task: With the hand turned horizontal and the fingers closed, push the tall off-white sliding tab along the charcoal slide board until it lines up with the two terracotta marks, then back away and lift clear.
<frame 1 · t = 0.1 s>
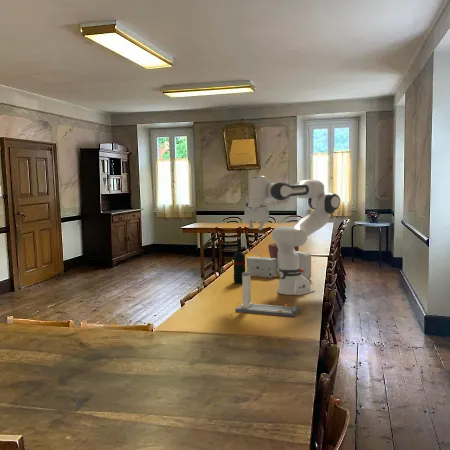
hand: (255, 229, 255), 39 cm above the table, tool pointing down, fingers open, 8 cm apart
stereo radio cassette player: (261, 276, 319), on the table
fader tab: (246, 289, 232), point 10 cm above the table, slide at 0.0 cm
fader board: (267, 311, 229), on the table
wine bottle: (240, 282, 299), on the table
rounded white slab: (293, 277, 314), on the table
bucket: (283, 269, 346), on the table
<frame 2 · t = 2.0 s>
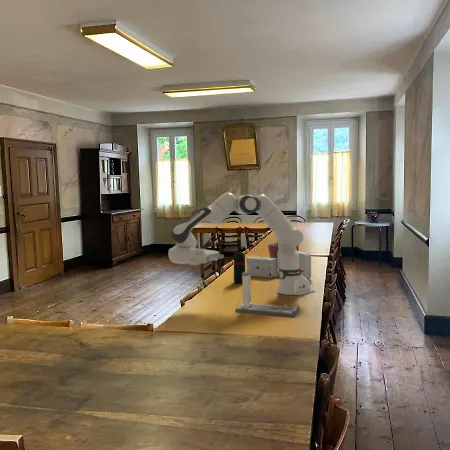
hand: (220, 257, 236), 26 cm above the table, tool horizontal, fingers open, 6 cm apart
nothing on the table moved.
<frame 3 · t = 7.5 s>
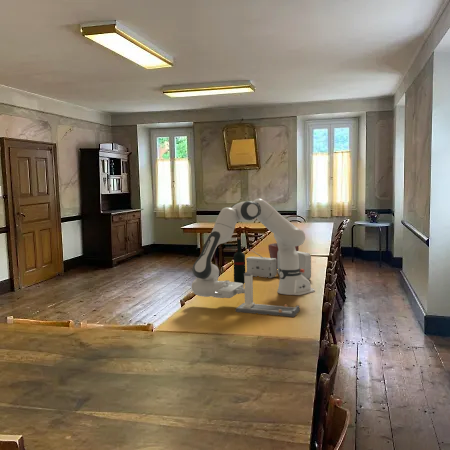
hand: (245, 291, 233), 9 cm above the table, tool horizontal, fingers closed, pressing on fader tab
fader tab: (248, 289, 232), point 10 cm above the table, slide at 1.1 cm, touching gripper
everything else where it was.
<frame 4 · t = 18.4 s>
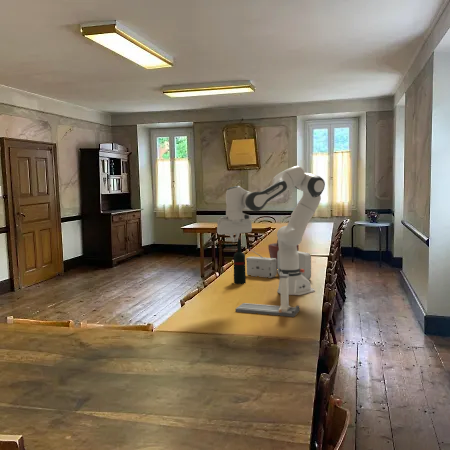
hand: (234, 241, 246), 33 cm above the table, tool pointing down, fingers closed
fader tab: (284, 292, 225), point 10 cm above the table, slide at 19.9 cm
everything else where it was.
at the end: fader tab slide at 19.9 cm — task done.
